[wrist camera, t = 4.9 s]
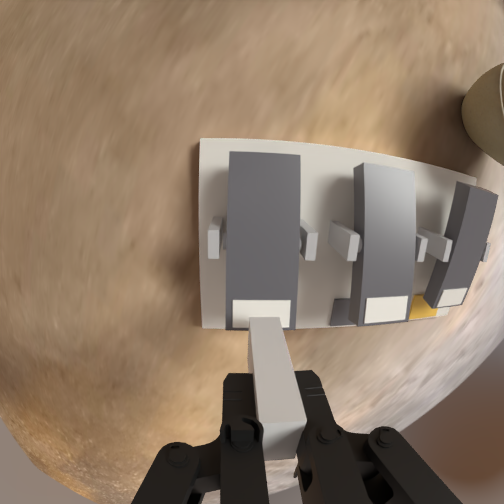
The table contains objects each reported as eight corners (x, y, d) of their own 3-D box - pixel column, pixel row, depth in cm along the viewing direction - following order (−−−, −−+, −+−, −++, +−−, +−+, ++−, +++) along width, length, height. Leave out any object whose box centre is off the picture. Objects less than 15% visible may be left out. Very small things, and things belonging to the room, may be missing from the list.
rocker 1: (226, 158, 16) (225, 150, 14) (297, 162, 16) (304, 154, 15) (223, 321, 17) (221, 330, 15) (293, 321, 17) (299, 330, 15)
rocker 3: (454, 180, 15) (469, 186, 14) (486, 189, 15) (500, 195, 14) (421, 297, 20) (430, 309, 18) (453, 294, 20) (463, 305, 18)
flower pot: (462, 182, 19) (518, 196, 12) (428, 79, 16) (483, 63, 9) (508, 154, 18) (555, 162, 11) (481, 68, 15) (527, 60, 8)
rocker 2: (350, 167, 17) (361, 161, 15) (403, 176, 17) (417, 171, 15) (345, 319, 17) (355, 327, 16) (398, 315, 18) (411, 321, 16)
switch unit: (202, 139, 17) (190, 132, 13) (469, 176, 19) (505, 183, 14) (203, 321, 22) (196, 359, 17) (442, 310, 23) (468, 333, 19)
